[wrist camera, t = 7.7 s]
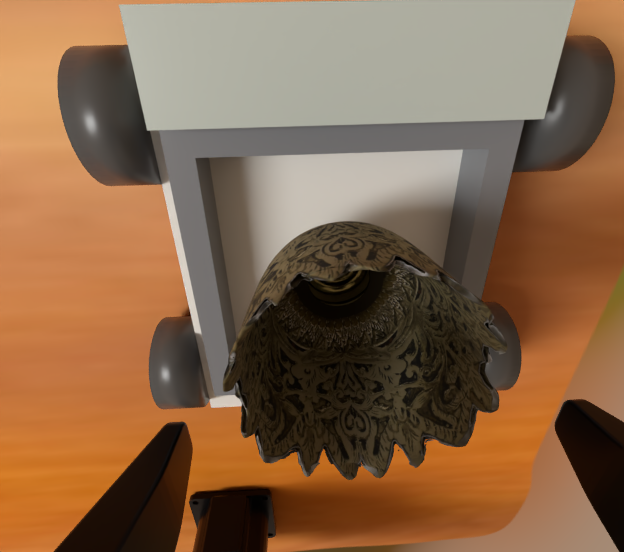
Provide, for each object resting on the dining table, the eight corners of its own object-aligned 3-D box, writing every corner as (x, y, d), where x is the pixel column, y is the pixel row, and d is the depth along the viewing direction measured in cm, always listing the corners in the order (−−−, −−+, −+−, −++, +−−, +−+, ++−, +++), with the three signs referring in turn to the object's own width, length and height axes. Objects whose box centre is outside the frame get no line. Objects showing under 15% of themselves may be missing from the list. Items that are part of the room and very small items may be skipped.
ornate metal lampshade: (237, 188, 15) (190, 290, 8) (419, 169, 15) (538, 253, 8) (266, 334, 18) (250, 495, 11) (411, 319, 18) (487, 470, 11)
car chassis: (466, 357, 24) (516, 437, 18) (188, 371, 23) (158, 458, 18) (546, 24, 15) (684, -5, 10) (104, 33, 14) (-3, 6, 9)
